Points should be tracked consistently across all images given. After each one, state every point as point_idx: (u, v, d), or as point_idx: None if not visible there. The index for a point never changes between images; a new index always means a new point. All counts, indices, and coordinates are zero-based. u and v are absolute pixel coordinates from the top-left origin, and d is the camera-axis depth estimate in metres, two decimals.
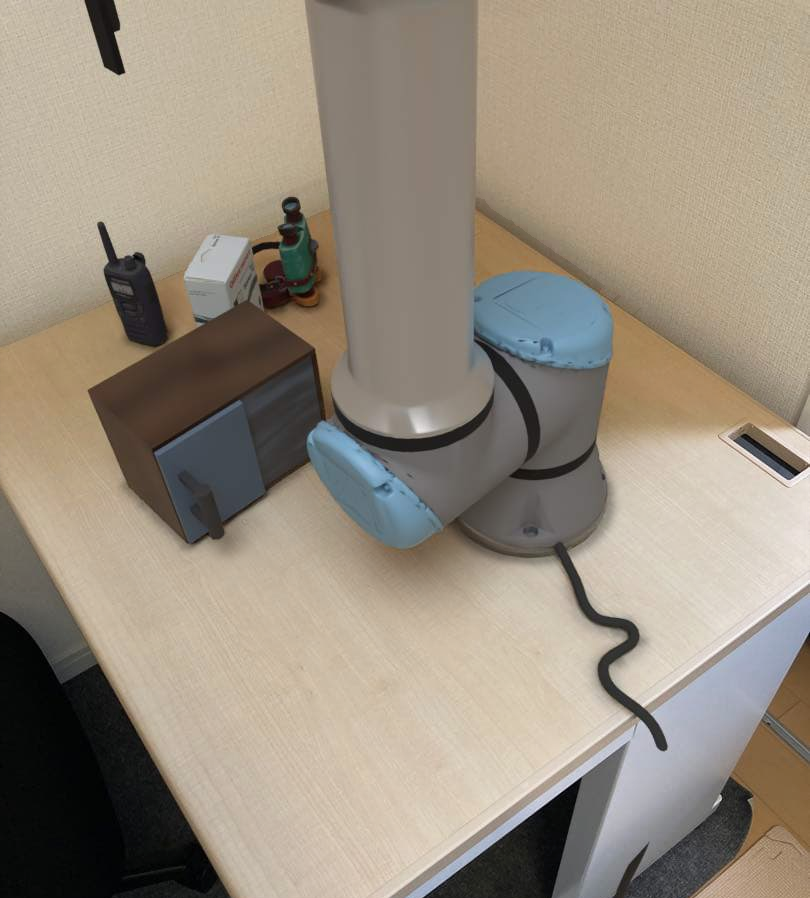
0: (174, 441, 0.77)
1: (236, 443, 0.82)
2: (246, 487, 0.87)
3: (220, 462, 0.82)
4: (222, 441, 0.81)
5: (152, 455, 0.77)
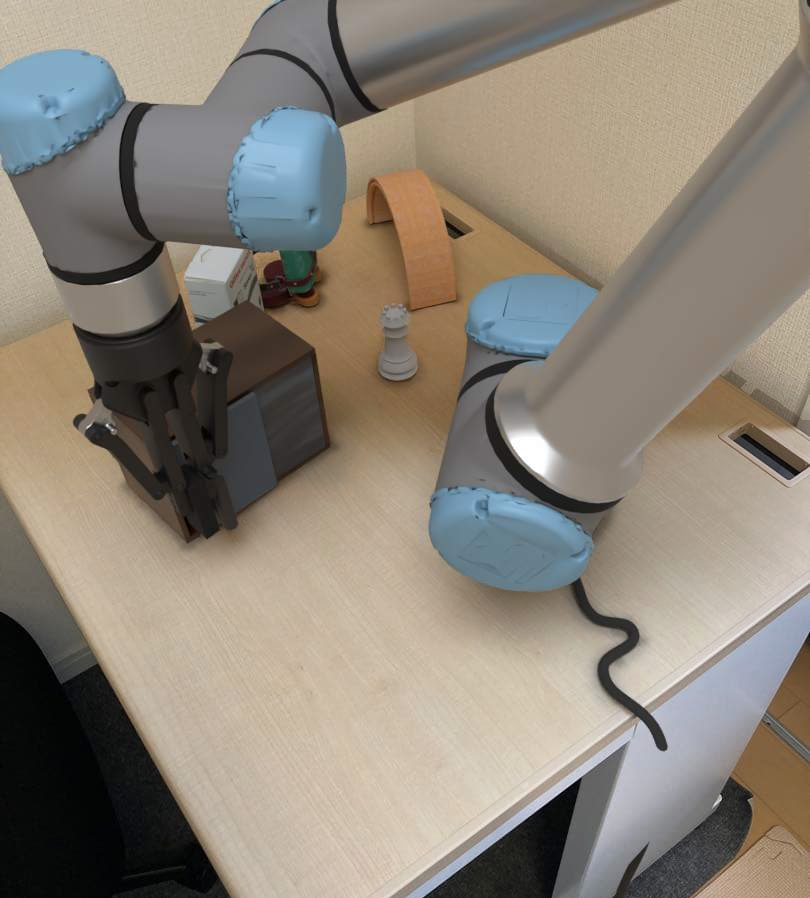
0: None
1: (249, 434, 0.83)
2: (258, 479, 0.87)
3: (234, 453, 0.83)
4: (235, 433, 0.81)
5: None
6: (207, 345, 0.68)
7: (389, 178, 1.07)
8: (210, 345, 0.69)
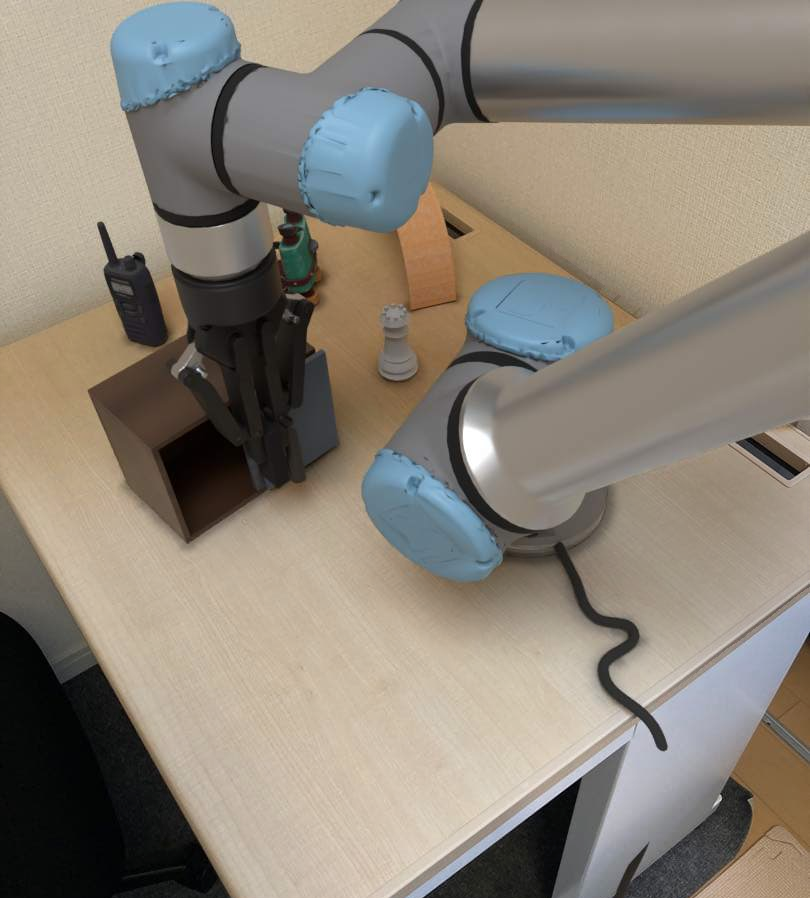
0: None
1: (317, 391, 0.86)
2: (322, 436, 0.90)
3: (302, 409, 0.86)
4: (304, 389, 0.84)
5: (152, 455, 0.77)
6: (290, 295, 0.72)
7: None
8: (293, 296, 0.72)
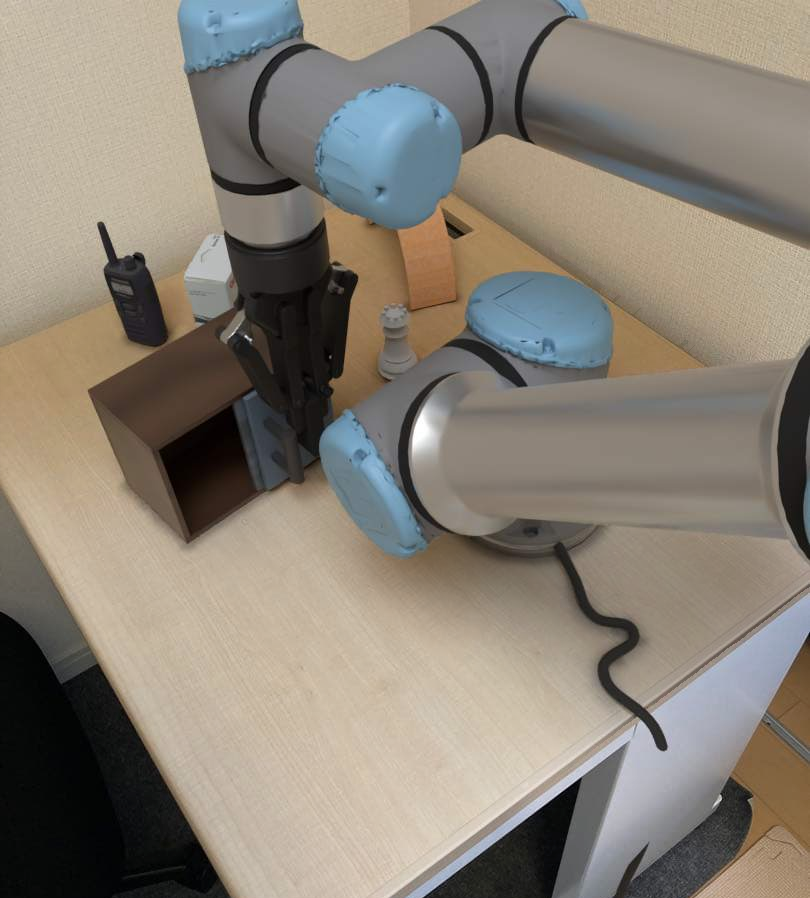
0: None
1: None
2: None
3: None
4: None
5: (152, 455, 0.77)
6: (335, 267, 0.73)
7: None
8: (338, 267, 0.74)
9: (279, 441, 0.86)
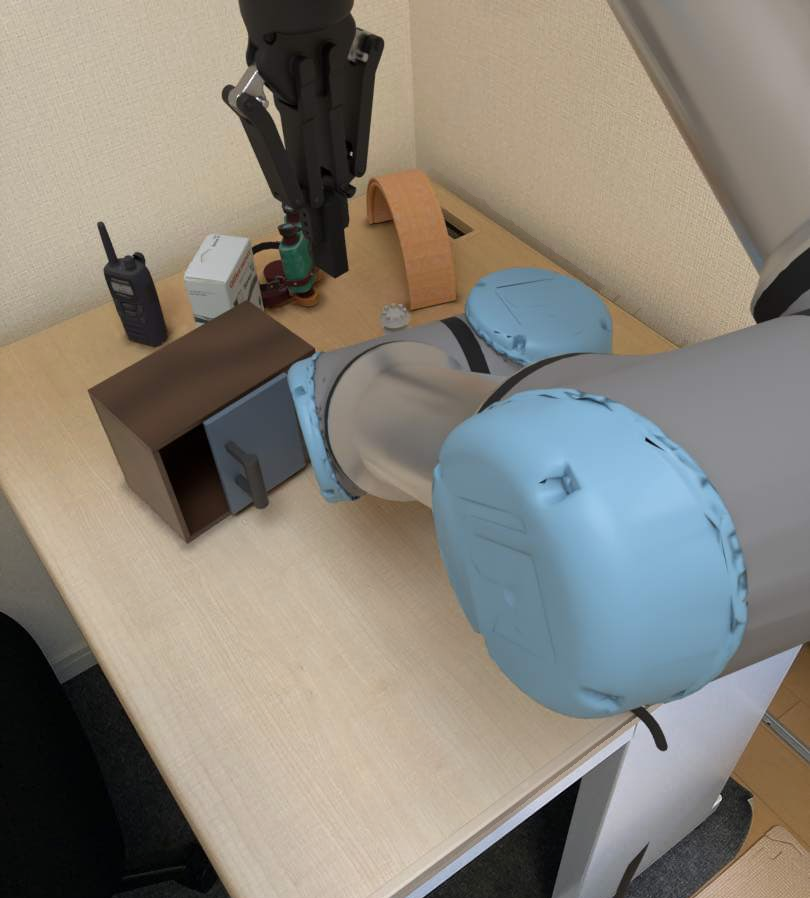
0: (222, 412, 0.79)
1: (280, 415, 0.84)
2: (287, 459, 0.89)
3: (264, 433, 0.84)
4: (267, 413, 0.83)
5: (152, 455, 0.77)
6: None
7: (389, 178, 1.07)
8: None
9: (243, 465, 0.84)
